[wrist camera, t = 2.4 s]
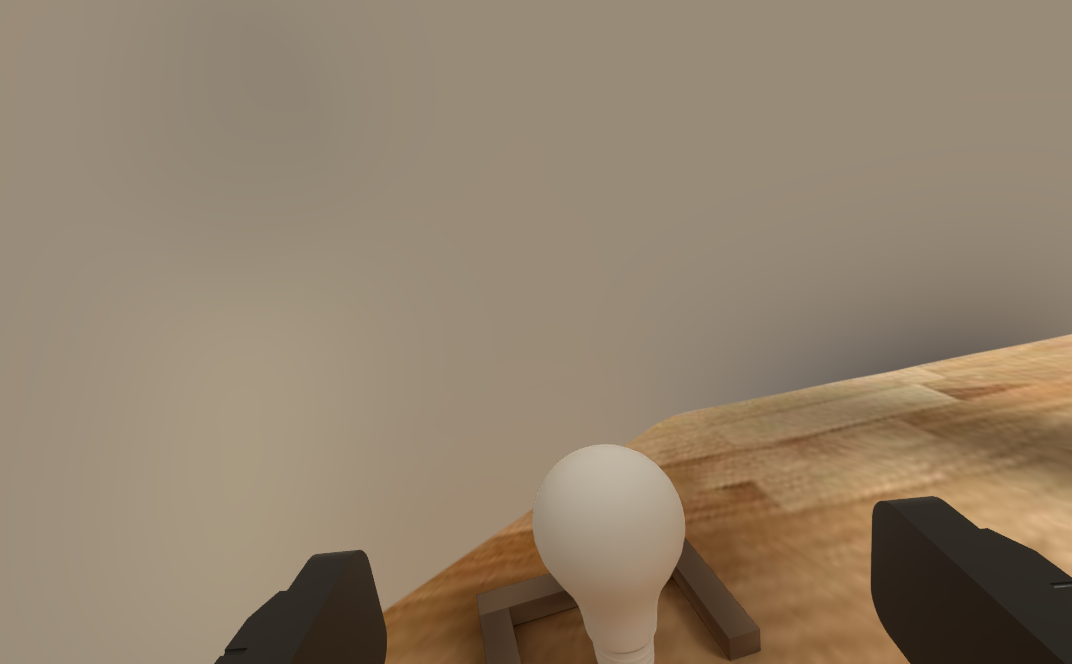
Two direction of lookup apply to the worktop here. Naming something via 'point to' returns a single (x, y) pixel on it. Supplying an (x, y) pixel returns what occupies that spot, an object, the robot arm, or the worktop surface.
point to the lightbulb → (611, 544)
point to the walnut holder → (550, 597)
